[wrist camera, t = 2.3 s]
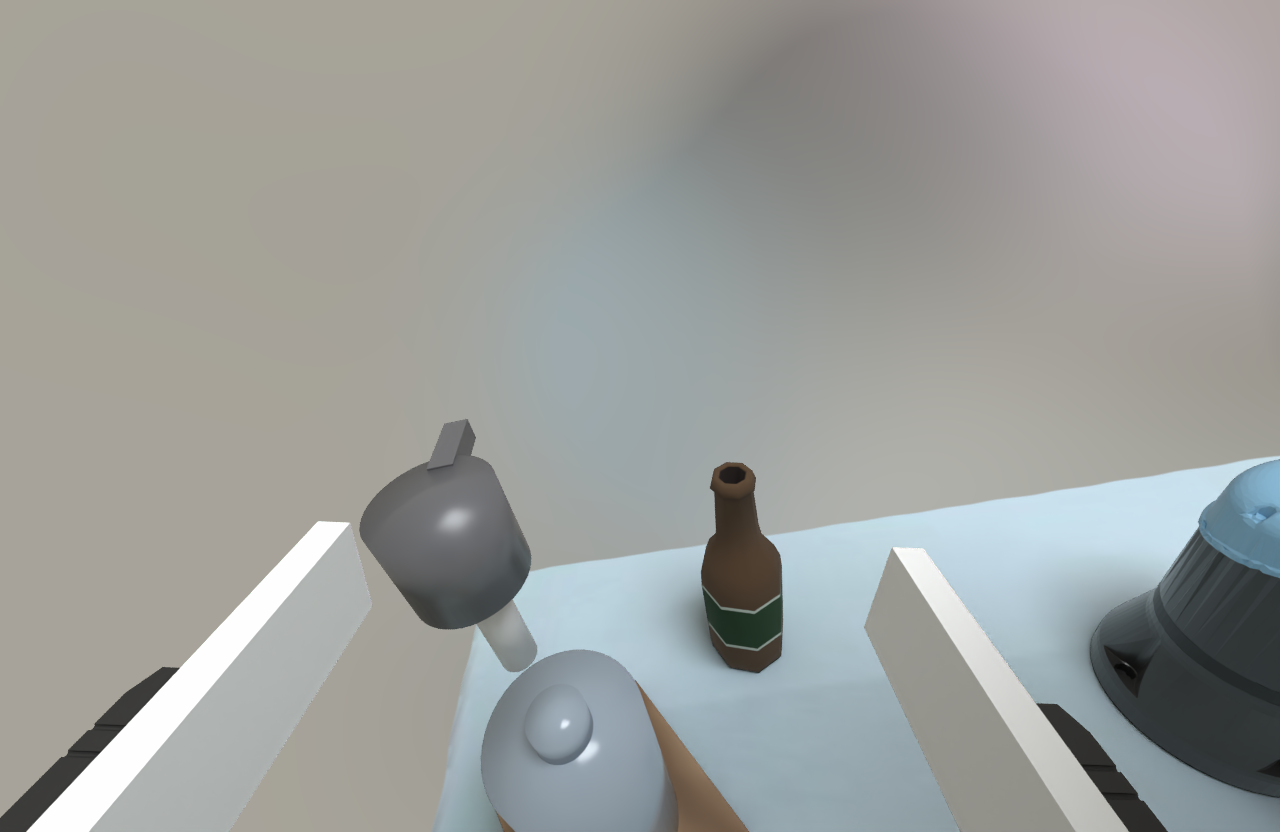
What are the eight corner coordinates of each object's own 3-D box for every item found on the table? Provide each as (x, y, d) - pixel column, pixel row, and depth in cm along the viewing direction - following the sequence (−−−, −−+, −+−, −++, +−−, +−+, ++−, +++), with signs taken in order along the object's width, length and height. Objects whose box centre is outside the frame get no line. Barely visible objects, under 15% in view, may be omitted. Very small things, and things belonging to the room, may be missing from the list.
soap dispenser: (629, 717, 48) (584, 606, 38) (706, 828, 40) (676, 726, 30) (528, 804, 43) (447, 706, 33) (592, 950, 35) (511, 878, 25)
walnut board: (637, 685, 51) (635, 680, 51) (752, 839, 40) (751, 834, 39) (496, 804, 45) (491, 799, 44) (584, 1029, 33) (580, 1027, 33)
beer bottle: (697, 650, 53) (665, 488, 40) (733, 596, 58) (715, 434, 44) (764, 691, 49) (753, 523, 35) (797, 628, 53) (799, 459, 40)
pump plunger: (533, 564, 32) (463, 414, 26) (595, 651, 27) (527, 488, 20) (443, 622, 30) (340, 473, 23) (491, 732, 24) (372, 577, 17)
